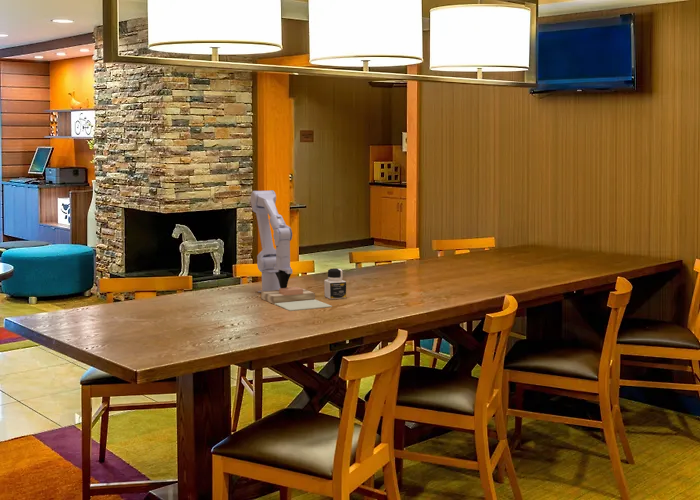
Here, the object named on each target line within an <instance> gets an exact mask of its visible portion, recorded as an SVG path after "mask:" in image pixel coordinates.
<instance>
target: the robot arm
mask: <svg viewBox="0 0 700 500" xmlns="http://www.w3.org/2000/svg"><path fill="white" fill-rule="evenodd" d="M276 201H277V194H276V192H275V191H274V190H272V189H271V190H252V192H251V193H250V205H251V210H252V212H254V213H255V216H256V220H257V227H258V232H259V238H260V243H261V251H259V253H258V254H257V256H256V259H257V261H256V262H257V263H256V265H257V269H258V271H259V272H261V289H260V290H258V291H257V292H258V293H260V294H261V291H272V290H279V288H288V284H289V280H290V277H291V276H292V274H293V268H292V267H291V241H292V240H293V231H292V228H291V226H289V225H287V224H286V221H285V220H284V218H283V215H281V214H279V212H278V208H277V207H276ZM271 228H272V230H273V237H272V230H271ZM273 240H274V242H273ZM274 246H275V247H274Z"/></svg>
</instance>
